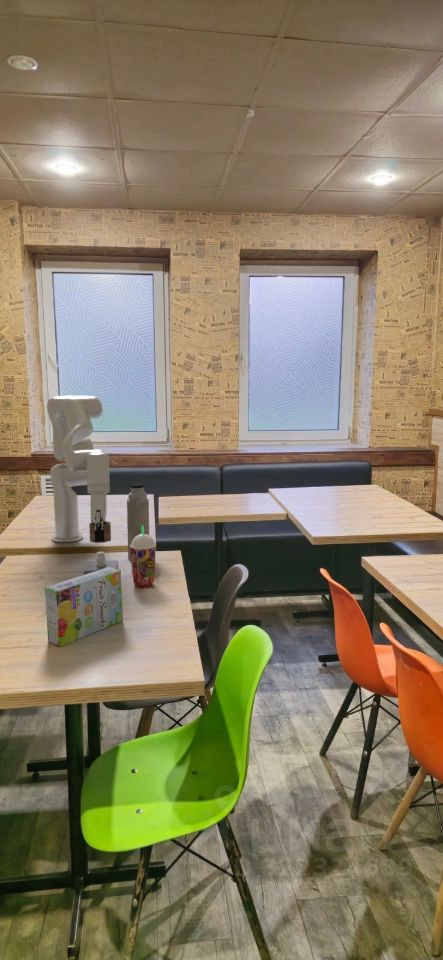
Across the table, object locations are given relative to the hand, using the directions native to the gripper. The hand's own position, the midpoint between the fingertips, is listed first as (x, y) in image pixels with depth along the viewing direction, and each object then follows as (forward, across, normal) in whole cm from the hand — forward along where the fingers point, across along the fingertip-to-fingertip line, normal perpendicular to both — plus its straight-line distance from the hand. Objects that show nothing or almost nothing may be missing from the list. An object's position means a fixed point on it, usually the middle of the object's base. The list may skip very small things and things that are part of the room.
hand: (100, 538), depth 210 cm
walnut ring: (+1, 0, 0) cm, 1 cm away
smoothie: (+12, +18, +15) cm, 26 cm away
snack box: (+13, +52, 0) cm, 53 cm away
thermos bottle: (+12, -12, +13) cm, 21 cm away
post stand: (+11, 0, 0) cm, 11 cm away
